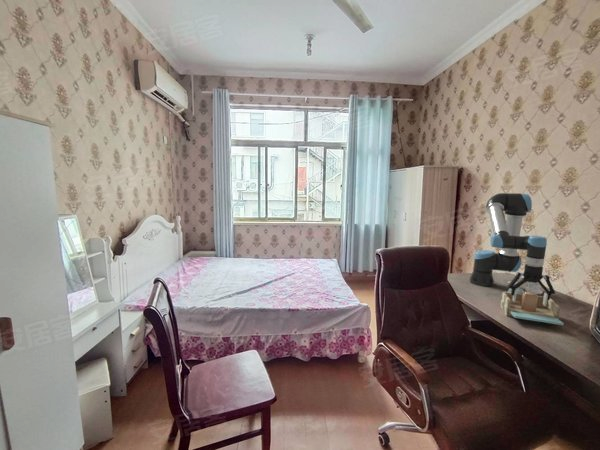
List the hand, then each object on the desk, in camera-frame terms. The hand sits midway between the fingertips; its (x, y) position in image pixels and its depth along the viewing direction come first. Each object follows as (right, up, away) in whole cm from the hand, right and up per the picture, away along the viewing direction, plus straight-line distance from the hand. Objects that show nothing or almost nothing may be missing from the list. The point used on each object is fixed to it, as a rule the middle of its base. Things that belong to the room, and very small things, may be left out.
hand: (528, 303), depth 159 cm
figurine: (+31, -2, +36) cm, 48 cm away
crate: (0, -6, +1) cm, 7 cm away
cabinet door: (-3, -5, -7) cm, 8 cm away
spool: (+7, -4, +19) cm, 21 cm away
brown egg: (0, -4, 0) cm, 4 cm away
